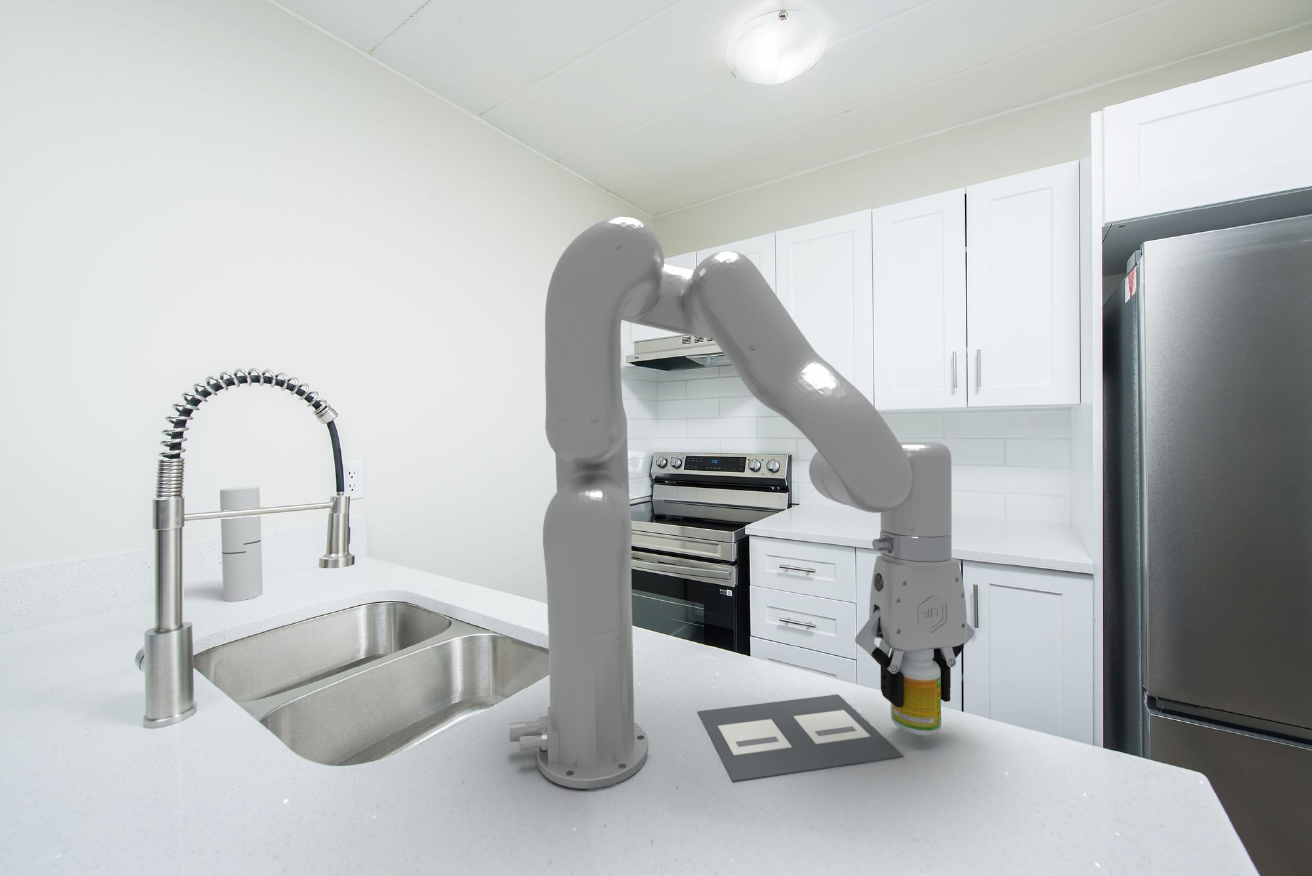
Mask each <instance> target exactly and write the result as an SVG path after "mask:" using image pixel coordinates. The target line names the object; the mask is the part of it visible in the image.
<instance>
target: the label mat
mask: <svg viewBox="0 0 1312 876" xmlns="http://www.w3.org/2000/svg"><path fill="white" fill-rule="evenodd" d="M842 697H843V696H841V695H840V694H838V693H837V694H831V695H821V696H814V697H813V696H812V697H804V698H797V699H788V700H781V701H780V700H779V701H772V702H762V703H754V704H748V705H747V704H746V705H738V706H731V707H730V706H729V707H722V708H721V707H720V708H713V709H704V710H697V714H698V716H699V718H700V719H701V721H702V724H703V725H704V728H705V730H706V731H707V734H708V736H709V738H710V739H711V742H712V744H713V746H714V748H715V750H716V752H717V753H718V755H719V758H720V760H721V762H722V764H723V765H724V768H725V770H726V771H727V773H728V776H729V777H730V779H731V781H732V782H733V783H735V782H743V781H749V780H755V779H762V778H770V777H777V776H784V775H790V774H797V773H805V772H811V771H817V770H824V769H831V768H839V767H845V766H851V765H852V766H853V765H860V764H865V763H866V764H867V763H871V762H878V761H885V760H892V759H900V758H904V756H905V755H904V754H903V753H901V752H900V750H898V748H896V747H895V746H894V744H892V743H891V742H890V741H889V740H888V739H887V738H885V737H884V736H883V735H882V734H881V733H880V732H879V731H878V730H877V728H875V727H874V726H873V725H872V724H871V723H870V722H869V721H867V720H866V719H865V718H864V717H863V716H862V715H861V714H860V713H859V712H858V711H857V710H856V709H855V708H853V706H851V705H850V704H849V703H848V702H847V701H846V700H845V699H844V698H842Z"/></svg>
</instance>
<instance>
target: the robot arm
mask: <svg viewBox="0 0 1312 876" xmlns="http://www.w3.org/2000/svg"><path fill="white" fill-rule="evenodd" d="M549 280H550V281H549V284H548V288H547V294H546V300H545V302H546V303H545V310H544V311H545V317H544V322H545V323H544V329H545V331H544V333H545V334H544V335H545V337H544V338H545V339H544V340H545V341H544V342H545V344H544V345H545V350H544V351H545V352H544V353H545V357H544V358H545V361H544V370H545V371H544V372H545V373H544V375H545V377H544V379H545V421H544V423H545V424H544V425H545V430H544V431H545V434H546V435H545V436H546V439H547V441H548V443H549V444H548V445H549V446H550V448H551V449H552V450H553V452H554V454H555V475H556V476H555V477H556V479H555V480H556V493H554V495H553V497H551V500H550V502H549V503H548V506H547V508H546V510H545V513H544V514H545V515H544V519H543V524H542V525H543V526H542V547H543V557H544V565H545V566H544V567H545V578H546V579H545V580H546V594H547V595H546V596H547V597H546V598H547V604H546V605H547V626H548V628H547V629H548V667H549V668H548V670H549V671H548V672H549V673H548V674H549V679H548V680H549V706H547V715H546V716H540V717H538V720H533V721H527V720H526V721H525V720H524V721H517V722H511V723H510V726H509V727H510V728H509V742H510V743H516V742H519V752H525V751H527V752H528V751H532V750H537V751H536V757H537V758H536V759H537V760H536V762H537V766H538V768H539V771H540V772H541V773H542V774H543V776H544V777H546V778H547V779H548V780H549V781H551V782H553V783H555V784H557V785H559V786H563V787H568V788H571V789H580V790H581V789H582V790H583V789H585V790H586V789H587V790H589V789H599V788H604V787H608V786H612V785H615V784H617V783H620V782H622V781H624V780H626V779H627V778H629V777H631V776H633V775H634V774H635V773H636V772H638V771H639V770H640V769H641V767H642V766H643V765H644V764H645V762H646V759H647V758H648V754H649V740H648V737H647V734H646V732H645V731H644V729H643V728H642V727H641V726H640V725H638V724H637V723H636V722H635V700H634V692H635V691H634V651H633V650H634V649H633V648H634V642H633V638H634V637H633V605H632V604H633V596H632V595H633V594H632V593H633V592H632V541H633V540H632V539H633V538H632V537H633V535H632V531H633V530H632V513H631V512H632V511H631V506H630V504H631V503H630V481H629V480H630V478H629V454H628V453H629V451H628V450H629V449H628V418H627V414H626V411H625V408H624V403H623V401H624V400H623V391H622V390H623V389H622V368H621V364H622V363H621V362H622V361H621V360H622V347H621V343H622V342H621V338H622V336H621V333H622V332H621V330H622V329H621V326H622V321H624V322H628V323H632V324H636V325H640V326H645V327H650V328H654V329H658V330H663V331H668V332H672V333H676V334H680V335H686V336H692V337H697V338H703V339H705V338H706V339H713V341H714V342H715V343H716V344H717V346H718V347H719V349H720V350H721V352H722V354H723V355H724V356H725V358H727V361H729V363H730V364H731V366H732V367H733V369H734V370H735V372H736V374H737V375H738V377H739V378H740V380H741V381H742V382H743V384H744V385H745V386H746V389H748V391H749V392H750V393H751V395H752V396H753V397H755V398H756V399H757V400H758V401H759V402H760V403H761V404H763V405H764V406H765V407H766V408H768V409H770V410H772V411H774V412H775V413H777V414H779V415H780V416H781V417H783V419H786V420H787V421H788V422H790V424H792V425H793V426H795V427H796V428H797V430H799V431H800V432H801V434H803V436H805V437H806V439H808V441H809V442H810V443H811V444H812V446H813V447H814V448H815V449H816V451H815V453H814V454H813V456H812V458H811V459H810V462H809V466H808V473H809V474H808V475H809V479H810V482H811V484H812V486H813V487H814V489H815V490H816V491H817V492H818V493H819V494H820V495H822V496H823V497H825V498H826V499H829V500H831V501H833V502H836V503H839V504H842V505H844V506H845V505H846V506H849V507H851V508H854V509H856V510H860V511H863V512H866V513H872V514H877V513H880V531H879V532H880V533H879V538H874V539H873V540H872V543H871V545H872V548H873V550H874V551H879V553H880V555H878V556H877V555H876V559H875V563H874V566H873V571H872V580H871V583H870V584H871V585H870V593H869V595H870V596H869V609H868V610H869V611H868V612H869V613H868V616H869V619H868V620H867V622H865V624H864V625H863V626H862V628H861V629H860V631H859V632H858V633H857V635H856V636H855V638H854V641H855V643H856V644H857V645H858V646H860V647H861V648H862V649H863V650H864V651H866V652H867V654H868V655H870V656H871V658H873V660H874V661H875V662H876V663H877V664H878V665H879V666H880V692H881V696H883V698H884V699H886V700H887V701H888V702H890V704H891V703H892V704H893V705H895V706H896V707H897V708H899V707H902V706H903V705H904V677H903V674H902V673H901V672H899V671H898V670H899V667H900V664H901V660H902V657H903V653H904V652H905V651H918V650H928V649H934V658H933V659H932V660H934V661H935V662H936V663H937V664H938V665H939V667H940V671H941V701H943V702H944V703H946V702H947V703H948V702H950V701H951V688H952V687H951V685H952V684H951V682H952V681H951V680H952V677H951V674H952V673H951V668H954V667H956V664H957V660H956V659H957V658H958V657H959V655H960V653H961V652H962V651H963V650H964V648H965V645H967V644H968V643H969V641H970V640H971V639H972V638H973V637H974V636H975V631H974V629H973V628H972V626H971V625H970V624H969V623H968V616H967V614H968V613H967V602H966V601H967V600H966V594H965V586H964V581H963V576H962V575H963V574H962V570H961V568H960V564H959V561H958V559H957V558H955V557H952V553H953V552H952V537H953V536H952V535H953V534H952V529H953V528H952V526H953V524H952V523H953V522H952V521H953V520H952V519H953V518H952V517H953V516H952V505H953V504H952V500H953V499H952V498H953V497H952V490H953V489H952V487H953V485H952V481H953V480H952V474H953V473H952V454H951V451H950V449H949V448H948V446H946V444H943V443H940V442H934V441H932V442H931V441H899V439H898V438H897V437H896V435H895V434H894V432H893V431H892V429H891V428H890V427H889V425H888V423H886V421H885V420H884V418H883V416H882V415H881V414H880V412H879V411H878V409H876V407H875V406H874V405H873V404H872V403H871V401H869V399H868V398H867V397H866V396H865V394H863V393H862V392H861V391H860V390H859V389H858V388H857V387H856V386H855V385H853V384H852V383H851V382H850V381H849V380H848V379H846V378H845V377H844V376H843V375H842V374H841V373H840V372H839V371H837V369H836V368H834V366H832V365H831V364H830V363H828V362H827V361H826V360H825V359H824V358H822V356H820V355H819V354H818V352H816V350H815V349H814V348H813V346H812V345H811V344H810V343H809V341H808V340H807V338H806V337H805V335H804V334H803V333H802V331H801V329H800V328H799V327H798V326H797V324H796V323H795V321H794V319H793V318H792V317H791V314H789V312H788V311H787V309H786V308H785V306H784V304H782V302H781V301H780V299H779V297H778V296H777V294H776V293H775V292H774V290H773V289H772V288H771V286H770V285H769V283H768V281H767V280H766V279H765V277H764V276H763V274H762V273H761V271H760V270H759V268H758V267H757V266H756V265H755V264H754V263H753V262H752V261H751V259H749V258H748V257H747V256H746V255H745V254H743V253H741V252H738V251H736V250H729V249H728V250H722V251H718V252H715V253H713V254H710V255H709V256H707V257H706V258H704V259H703V260H702V261H701V262H700V263H699V264H698V265H697V266H695V268H694V269H690V268H683V267H679V266H675V265H672V264H666V263H665V256H664V252H663V248H662V245H661V243H660V241H659V239H658V237H657V235H656V234H655V232H654V231H653V230H652V228H650V227H649V225H647V224H646V223H644V222H643V221H641V220H640V219H638V218H635V217H629V216H624V215H623V216H621V215H620V216H614V217H610V218H606V219H603V220H601V221H599V222H596V223H595V224H592V225H590V226H589V227H588V228H587V229H585V230H584V231H582V232H581V233H579V235H578V236H576V237H575V238H573V240H572V241H571V242H570V244H569V245H568V246H567V247H566V248H565V249H564V251H563V253H561V256H560V257H559V259H558V260H557V262H556V265H555V267H554V270H553V272H552V275H551V277H550V279H549ZM877 638H878V639H880V641H879V645H876V643H875V640H876V639H877Z"/></svg>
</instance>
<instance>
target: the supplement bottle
mask: <svg viewBox="0 0 1312 876" xmlns="http://www.w3.org/2000/svg"><path fill="white" fill-rule="evenodd" d="M933 658H934V649H928V650H918V651H905V652H904V653H903V657H902V660H901V664H900V667H899V670H898V671H899V672H901V673H902V674H903V677H904V705H903V706H902V707H899V708H897V707H896V706H895V705H893V704H892V703H891V702H890V718H891V720H892V722H893V724H894V725H896V726H897V728H899V729H901V730H903V731H905V732H907V733H910V734H913V735H919V736H931V735H936V734H938V733H939V732H940V730H941V729H942V700H941V671H940V667H939V665H938V664H937V663H936V662H935V661H934V660H932V659H933Z"/></svg>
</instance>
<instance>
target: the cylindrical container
mask: <svg viewBox="0 0 1312 876" xmlns="http://www.w3.org/2000/svg"><path fill="white" fill-rule="evenodd" d="M260 497H261V496H260V486H239V487H238V486H237V487H227V488H221V489H219V503H220V506H219V508H220V512H221V511H224V510H241V509H249V508H260V509H261V501H260V500H261V498H260ZM220 530H221V534H220V535H221V561H222V562H221V566H222V567H221V568H222V586H223V587H222V588H223V589H222V591H223V593H222V596H223V597H222V598H223V601H224V600H225V601H224V602H228V601H233V602H240V601H241V600H242V601H247V600H246V599H248V600H251V599H255V598H254V597H256V598H258V597H260V595H261V596H262V595H263V594H264V590H263V589H264V588H263V565H262V563H263V561H262V560H263V557H262V530H261V515H260V516H257V517H242V518H233V519H221V518H220ZM242 601H241V602H242Z"/></svg>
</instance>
